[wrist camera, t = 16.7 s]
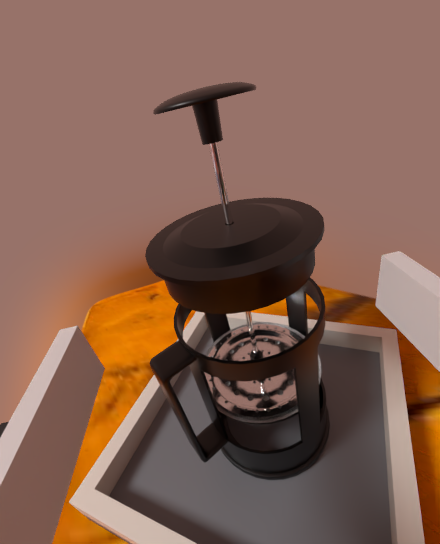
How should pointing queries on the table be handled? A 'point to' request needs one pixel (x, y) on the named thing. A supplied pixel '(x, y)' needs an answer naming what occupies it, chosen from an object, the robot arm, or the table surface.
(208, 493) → the serving tray
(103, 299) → the table surface
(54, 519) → the robot arm
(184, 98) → the french press
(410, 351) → the table surface
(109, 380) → the table surface
